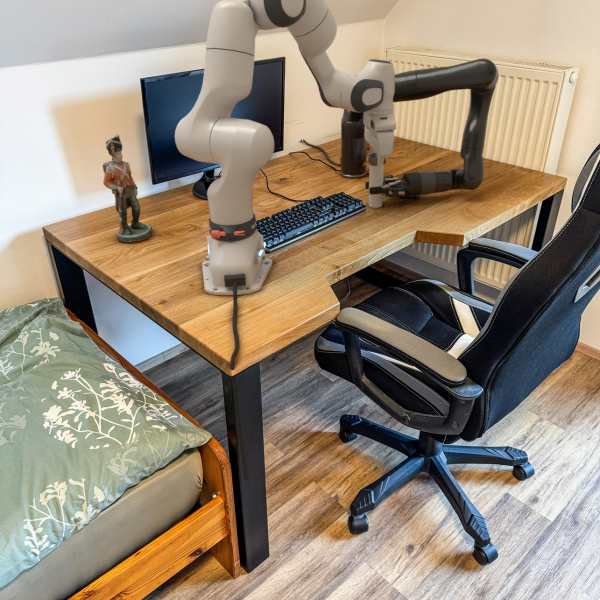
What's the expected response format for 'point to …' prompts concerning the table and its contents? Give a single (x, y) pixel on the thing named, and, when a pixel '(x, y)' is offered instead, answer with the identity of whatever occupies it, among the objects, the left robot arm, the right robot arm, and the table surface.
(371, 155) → the lid
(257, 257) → the left robot arm
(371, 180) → the white cylinder
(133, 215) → the figurine
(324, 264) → the table surface
